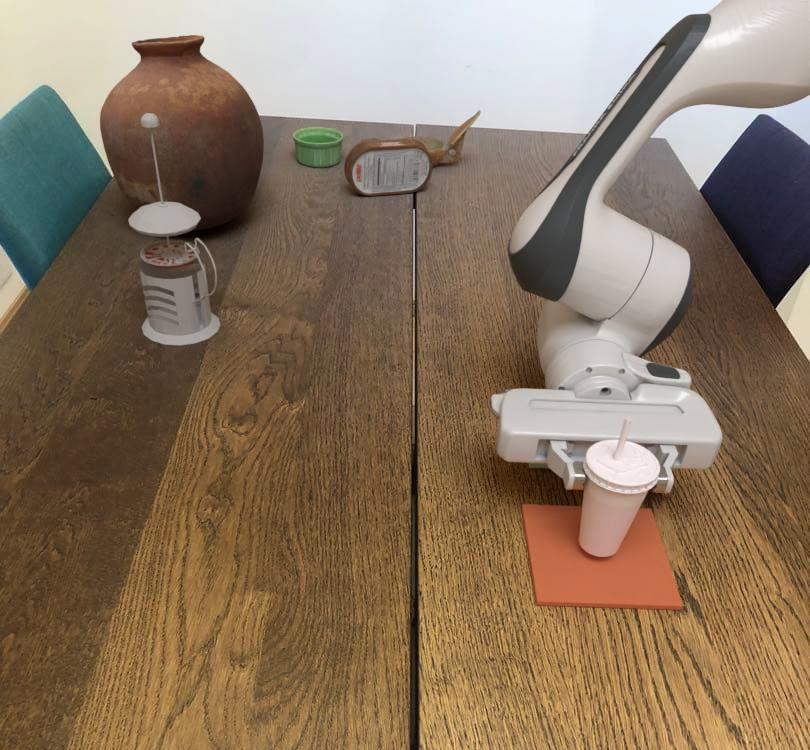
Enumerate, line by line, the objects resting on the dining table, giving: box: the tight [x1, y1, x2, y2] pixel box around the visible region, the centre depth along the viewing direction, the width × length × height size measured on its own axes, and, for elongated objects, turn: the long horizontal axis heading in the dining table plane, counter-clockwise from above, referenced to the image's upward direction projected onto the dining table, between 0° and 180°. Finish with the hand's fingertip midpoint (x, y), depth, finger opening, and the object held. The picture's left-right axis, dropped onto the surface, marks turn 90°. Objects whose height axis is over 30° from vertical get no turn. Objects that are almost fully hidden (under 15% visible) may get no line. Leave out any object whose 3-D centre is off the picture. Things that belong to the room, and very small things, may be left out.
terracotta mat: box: [520, 503, 684, 611], centre depth 77 cm, size 13×13×1 cm
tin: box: [343, 138, 434, 197], centre depth 136 cm, size 15×3×8 cm, turn 108°
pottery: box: [99, 34, 265, 232], centre depth 119 cm, size 23×23×25 cm
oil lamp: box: [359, 110, 482, 167], centre depth 147 cm, size 9×21×10 cm, turn 80°
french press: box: [128, 113, 221, 346], centre depth 95 cm, size 10×12×25 cm
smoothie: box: [579, 417, 660, 557], centre depth 71 cm, size 6×6×14 cm
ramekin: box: [292, 126, 344, 169], centre depth 148 cm, size 9×9×4 cm
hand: (620, 485), depth 70 cm, fingers closed on smoothie, 6 cm apart
